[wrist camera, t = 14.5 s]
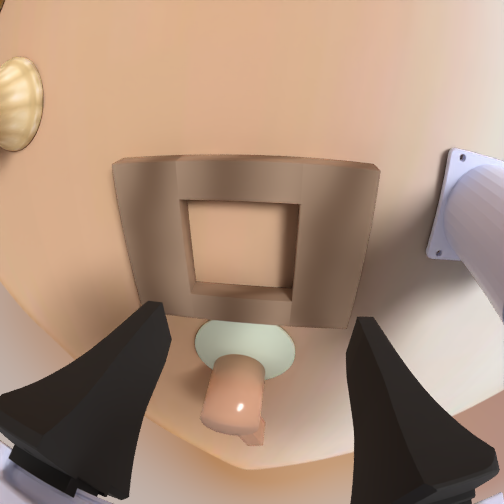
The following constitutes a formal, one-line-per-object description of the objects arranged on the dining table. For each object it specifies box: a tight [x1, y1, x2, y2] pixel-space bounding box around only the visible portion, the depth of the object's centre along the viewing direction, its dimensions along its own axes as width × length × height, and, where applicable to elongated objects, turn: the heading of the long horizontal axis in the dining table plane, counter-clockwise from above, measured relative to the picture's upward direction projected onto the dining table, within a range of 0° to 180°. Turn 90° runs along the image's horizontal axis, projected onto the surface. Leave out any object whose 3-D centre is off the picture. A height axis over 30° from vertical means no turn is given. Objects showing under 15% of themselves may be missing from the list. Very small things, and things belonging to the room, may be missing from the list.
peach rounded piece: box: [200, 354, 265, 446], centre depth 26 cm, size 9×5×6 cm, turn 20°
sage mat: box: [195, 320, 295, 380], centre depth 26 cm, size 9×9×1 cm
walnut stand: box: [112, 155, 380, 329], centre depth 20 cm, size 16×12×2 cm
